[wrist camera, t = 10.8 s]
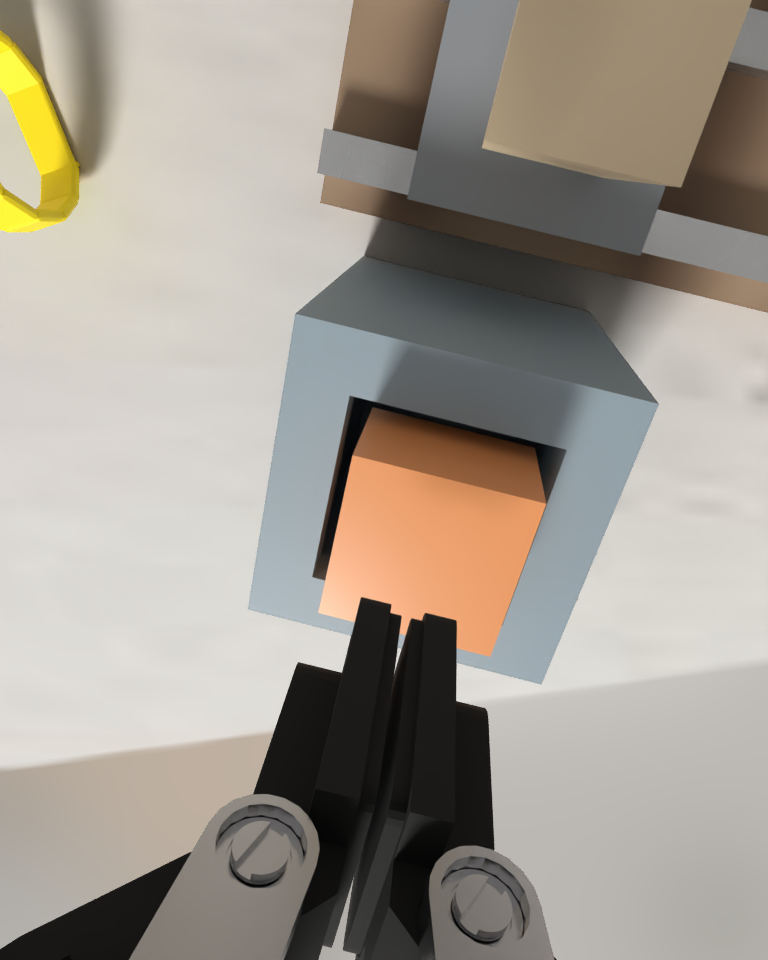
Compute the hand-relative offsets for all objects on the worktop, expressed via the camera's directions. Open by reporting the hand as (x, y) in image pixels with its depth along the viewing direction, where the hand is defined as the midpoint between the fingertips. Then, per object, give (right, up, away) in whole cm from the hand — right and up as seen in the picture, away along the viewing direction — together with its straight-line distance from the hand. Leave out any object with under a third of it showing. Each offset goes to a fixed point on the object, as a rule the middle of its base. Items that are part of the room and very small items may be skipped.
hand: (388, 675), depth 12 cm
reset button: (+1, +3, +6) cm, 6 cm away
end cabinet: (+2, +7, +14) cm, 15 cm away
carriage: (+4, +14, +7) cm, 16 cm away
